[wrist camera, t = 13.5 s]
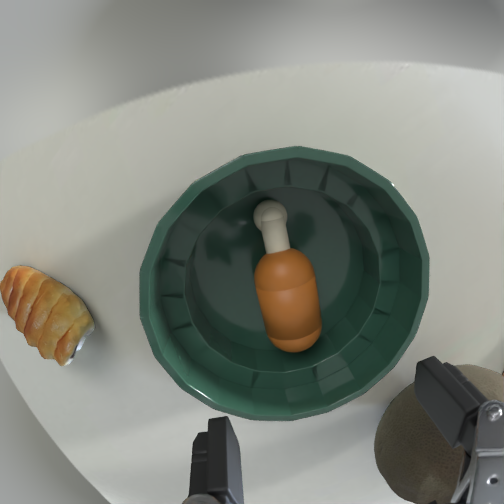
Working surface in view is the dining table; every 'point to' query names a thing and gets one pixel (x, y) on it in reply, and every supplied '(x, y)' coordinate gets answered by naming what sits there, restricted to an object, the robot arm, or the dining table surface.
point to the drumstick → (285, 284)
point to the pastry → (46, 313)
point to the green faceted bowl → (245, 296)
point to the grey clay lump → (424, 444)
